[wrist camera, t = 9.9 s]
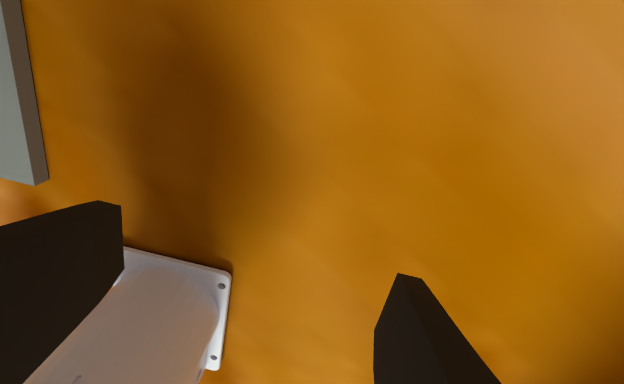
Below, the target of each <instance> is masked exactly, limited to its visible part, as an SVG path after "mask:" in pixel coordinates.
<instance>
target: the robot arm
mask: <svg viewBox="0 0 624 384" xmlns="http://www.w3.org/2000/svg"><path fill="white" fill-rule="evenodd" d="M231 280H232V278H231V275H230V274H229V273H228V272H226V271H223V270H219V269H215V268H211V267H207V266H203V265H199V264H194V263H190V262H186V261H182V260H178V259H174V258H170V257H166V256H162V255H158V254H154V253H149V252H145V251H141V250H137V249H133V248H129V247H125V246H123V232H122V215H121V206H119V205H115V204H111V203H107V202H103V201H99V200H97V201H92V202H87V203H83V204H79V205H75V206H71V207H67V208H64V209H60V210H56V211H53V212H49V213H46V214H42V215H39V216H35V217H32V218H28V219H24V220H21V221H17V222H14V223H10V224H7V225H3V226H0V384H198V383H199V381H200V379H201V376H202V374H203V372H204V370H205V369H209V370H214V371H215V370H218V369H219V367H220V365H221V360H222V352H223V344H224V336H225V328H226V320H227V312H228V304H229V296H230V288H231ZM221 283H223V284H224V285H222V284H221ZM112 286H113V288H112V289H111V287H112ZM110 289H111V290H110ZM109 290H110V291H109ZM108 291H109V292H108ZM107 292H108V293H107ZM373 372H374V384H501V383H500V381H499V380H498V379H497V378H496V377H495V375H494V374H493V373H492V372H491V370H490V369H489V368H488V367H487V365H486V364H485V363H484V362H483V360H482V359H481V358H480V356H479V355H478V354H477V353H476V351H475V350H474V349H473V347H472V346H471V345H470V343H469V342H468V341H467V339H466V338H465V337H464V335H463V334H462V333H461V331H460V330H459V329H458V327H457V326H456V325H455V323H454V322H453V321H452V319H451V318H450V316H449V315H448V314H447V312H446V311H445V310H444V308H443V307H442V305H441V304H440V303H439V301H438V300H437V299H436V297H435V296H434V294H433V293H432V292H431V290H430V289H429V288H428V286H427V285H426V284H425V282H424V281H423V280H422V279H421V278H417V277H413V276H408V275H404V274H400V273H397V276H396V278H395V281H394V283H393V286H392V288H391V290H390V293H389V295H388V298H387V300H386V303H385V305H384V308H383V310H382V312H381V315H380V317H379V320H378V322H377V325H376V327H375V330H374V361H373Z"/></svg>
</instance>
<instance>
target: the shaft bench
mask: <svg viewBox="0 0 624 384" xmlns="http://www.w3.org/2000/svg"><path fill="white" fill-rule="evenodd" d="M0 178H4V179H8V180H12V181H16V182H20V183H24V184H28V185H33V186H36V185H38V184H40V183H42V182H44V181H47V180H49V177H48V170H47V164H46V158H45V152H44V146H43V140H42V134H41V127H40V121H39V115H38V109H37V103H36V97H35V90H34V84H33V78H32V72H31V66H30V60H29V53H28V47H27V41H26V35H25V29H24V23H23V16H22V10H21V4H20V0H0Z"/></svg>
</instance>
